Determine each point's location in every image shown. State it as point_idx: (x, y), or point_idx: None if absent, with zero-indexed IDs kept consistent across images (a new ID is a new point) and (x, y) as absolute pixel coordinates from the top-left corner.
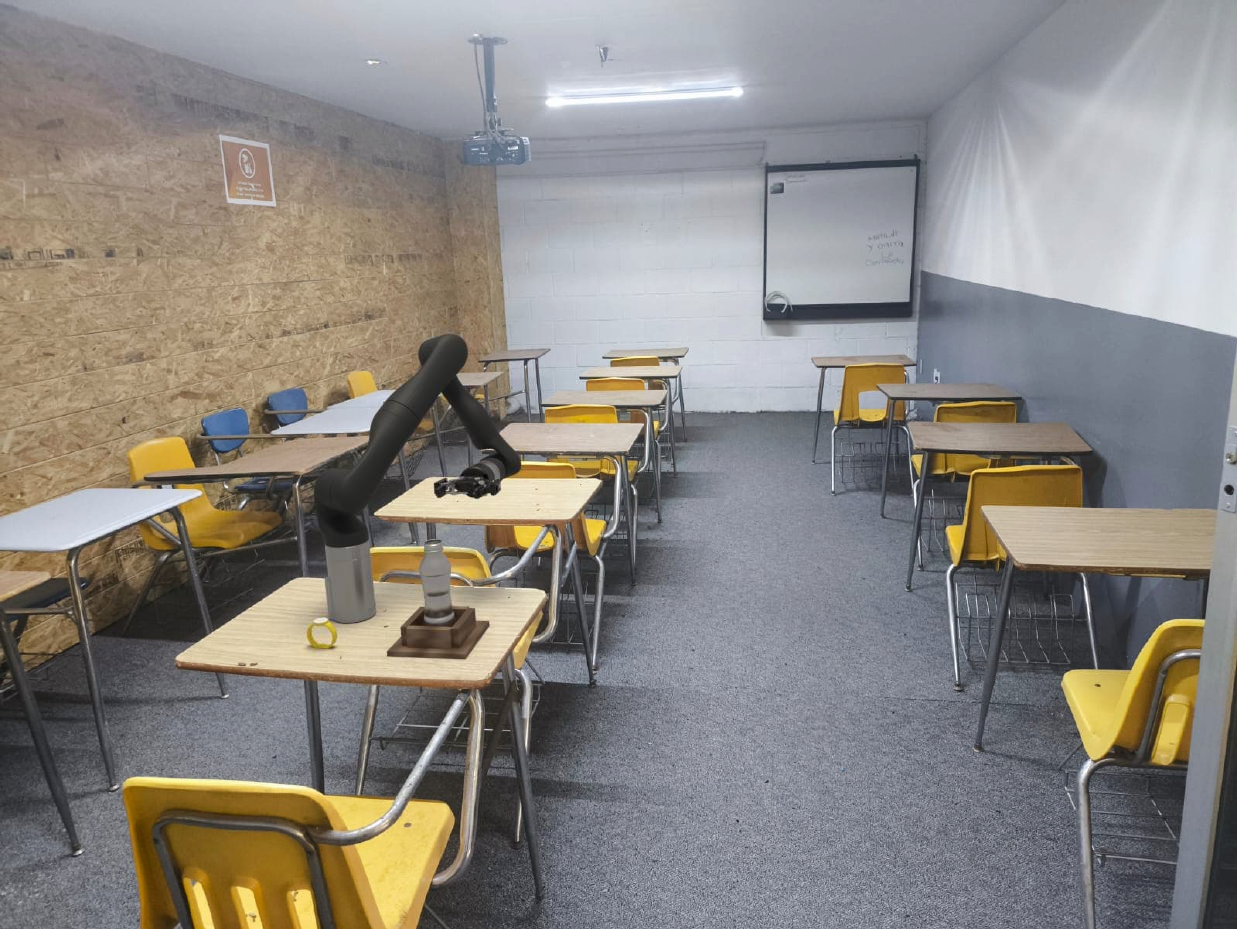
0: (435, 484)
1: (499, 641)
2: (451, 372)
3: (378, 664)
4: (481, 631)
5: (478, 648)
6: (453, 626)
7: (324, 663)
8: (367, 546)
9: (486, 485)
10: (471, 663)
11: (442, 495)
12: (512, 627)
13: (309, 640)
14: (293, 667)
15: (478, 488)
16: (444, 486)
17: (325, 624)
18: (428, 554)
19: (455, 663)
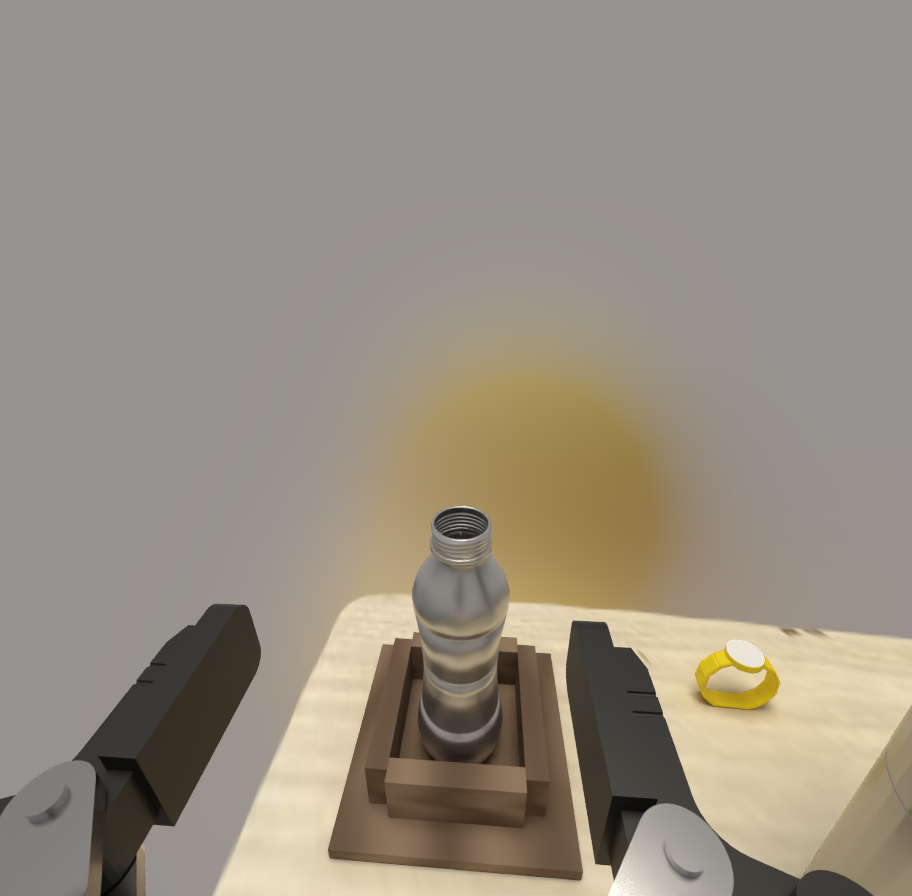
0: (819, 878)
1: (307, 735)
2: None
3: (547, 632)
4: (352, 760)
5: (359, 697)
6: (408, 648)
7: (654, 634)
8: None
9: (28, 790)
10: (369, 637)
11: (576, 733)
12: (256, 839)
13: (760, 684)
14: (699, 621)
15: (196, 626)
16: (604, 766)
17: (723, 650)
18: (470, 535)
19: (400, 637)
